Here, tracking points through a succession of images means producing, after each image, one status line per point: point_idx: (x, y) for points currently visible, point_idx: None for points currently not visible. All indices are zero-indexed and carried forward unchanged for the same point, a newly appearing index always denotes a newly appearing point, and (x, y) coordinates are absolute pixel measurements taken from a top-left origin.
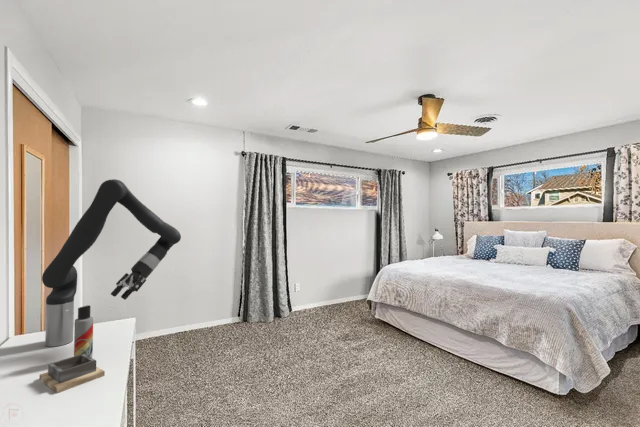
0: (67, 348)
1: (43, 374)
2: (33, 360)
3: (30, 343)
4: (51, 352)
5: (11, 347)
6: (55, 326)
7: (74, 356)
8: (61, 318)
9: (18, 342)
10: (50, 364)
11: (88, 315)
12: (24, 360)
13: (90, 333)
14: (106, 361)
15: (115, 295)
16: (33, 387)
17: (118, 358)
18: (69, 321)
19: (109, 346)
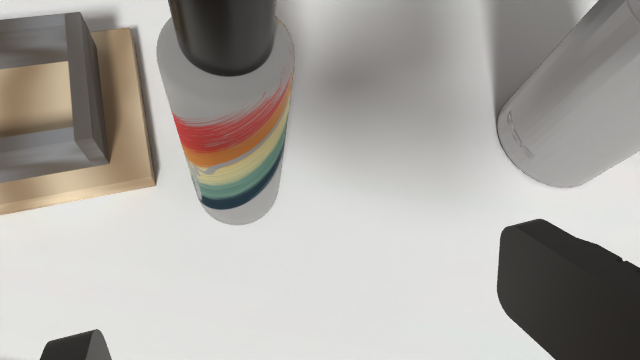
0: (443, 154)
1: (116, 36)
2: (369, 47)
3: None
4: (427, 101)
5: (574, 11)
6: (558, 53)
7: (84, 99)
8: (592, 44)
9: None
10: (67, 16)
11: (182, 42)
12: (391, 27)
13: (185, 144)
14: (103, 273)
15: (512, 306)
16: None
17: None
18: (595, 103)
19: (342, 327)
